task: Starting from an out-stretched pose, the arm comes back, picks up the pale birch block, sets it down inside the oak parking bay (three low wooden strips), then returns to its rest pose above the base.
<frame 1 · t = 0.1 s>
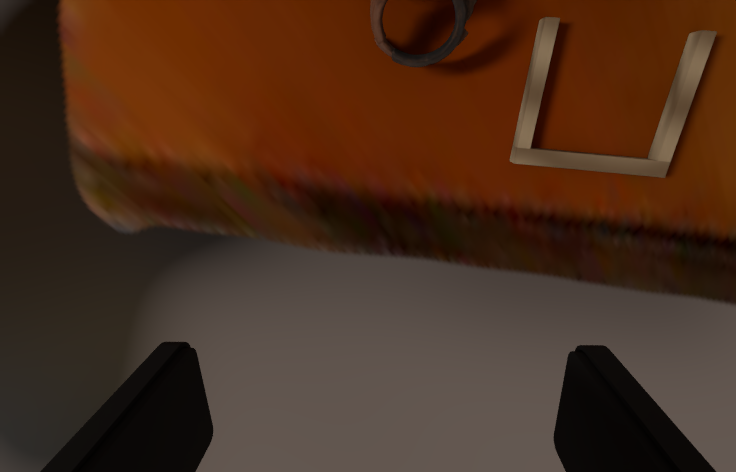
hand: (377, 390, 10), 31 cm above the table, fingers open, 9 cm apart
oak bay: (600, 99, 36), on the table
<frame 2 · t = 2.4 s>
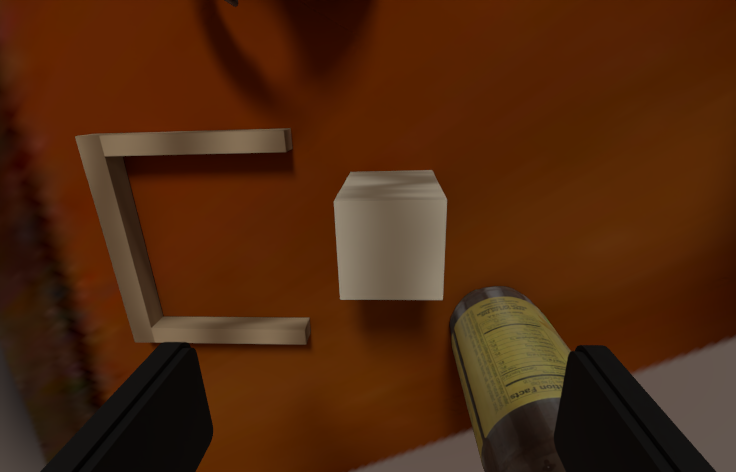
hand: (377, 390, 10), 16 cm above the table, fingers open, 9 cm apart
sauce bottle: (492, 317, 26), on the table
birch block: (391, 210, 24), on the table
oak bay: (214, 240, 26), on the table
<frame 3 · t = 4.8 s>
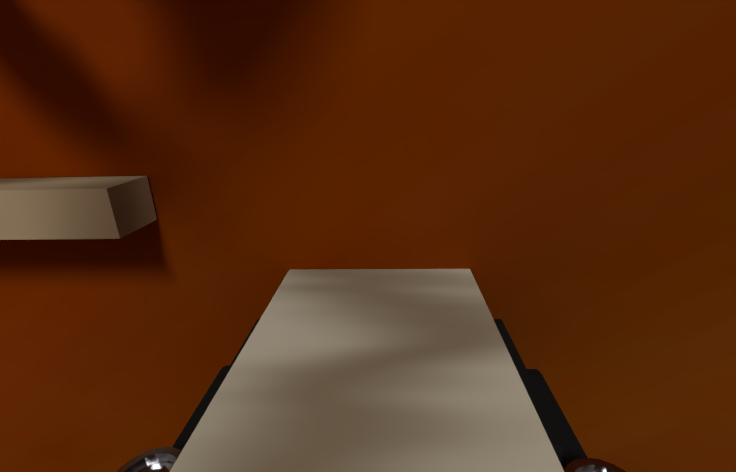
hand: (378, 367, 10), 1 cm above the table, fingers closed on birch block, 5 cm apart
birch block: (379, 345, 11), on the table, touching gripper
oak bay: (24, 391, 13), on the table
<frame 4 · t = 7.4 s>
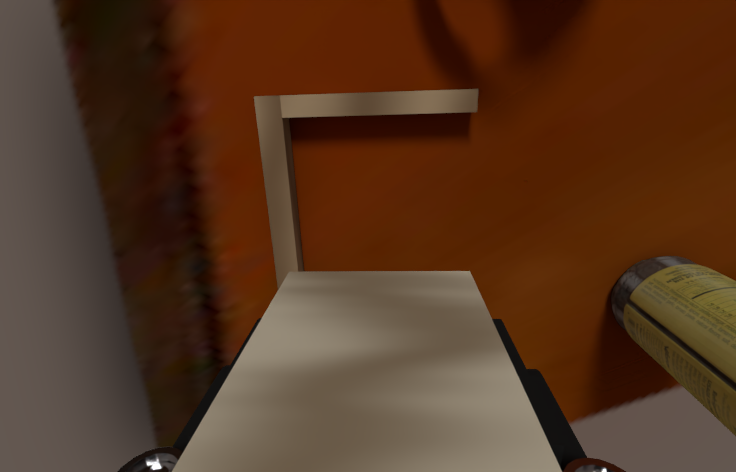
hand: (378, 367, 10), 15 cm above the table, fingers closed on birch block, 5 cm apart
sauce bottle: (653, 290, 26), on the table
birch block: (379, 347, 11), point 14 cm above the table, touching gripper
oak bay: (373, 210, 25), on the table
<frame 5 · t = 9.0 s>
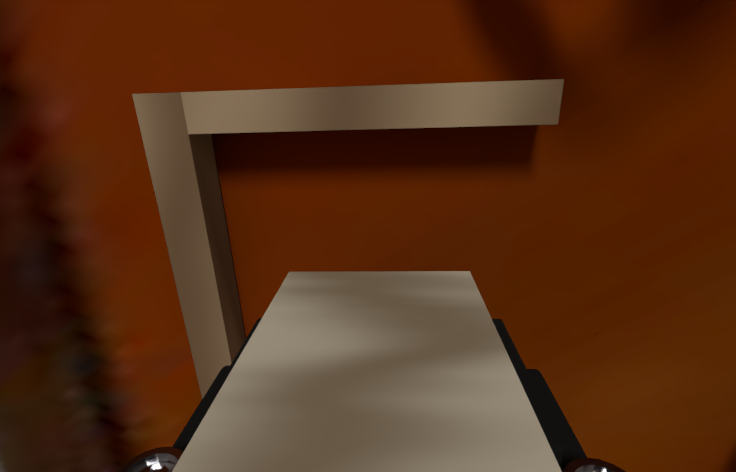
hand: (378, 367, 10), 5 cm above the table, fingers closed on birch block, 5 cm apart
birch block: (379, 347, 11), point 4 cm above the table, touching gripper
oak bay: (361, 286, 15), on the table
when the fingers open (2 cm above the table, at t = 10.4 s): birch block drops 1 cm, on the table.
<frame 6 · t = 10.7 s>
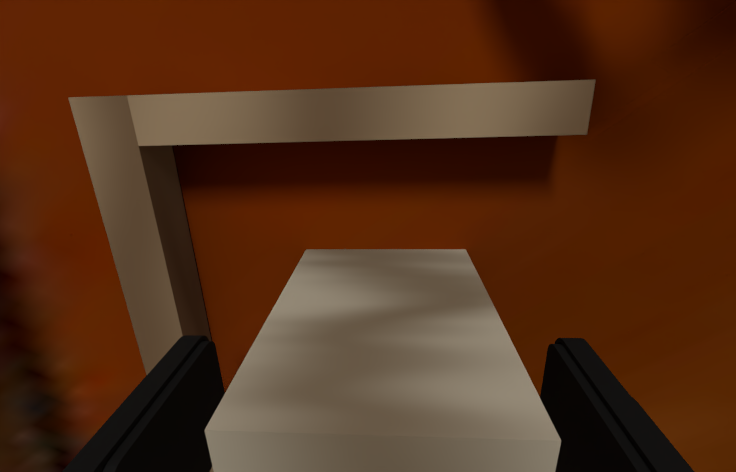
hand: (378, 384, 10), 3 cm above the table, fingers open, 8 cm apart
birch block: (385, 318, 13), on the table
oak bay: (351, 319, 13), on the table
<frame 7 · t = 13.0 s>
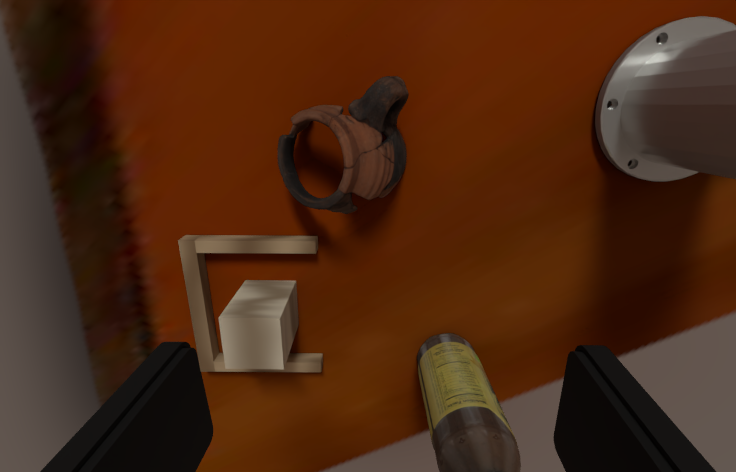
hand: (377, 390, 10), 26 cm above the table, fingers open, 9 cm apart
sauce bottle: (445, 353, 40), on the table
birch block: (272, 302, 38), on the table
oak bay: (261, 303, 38), on the table
broken clay pot rim: (356, 142, 33), on the table
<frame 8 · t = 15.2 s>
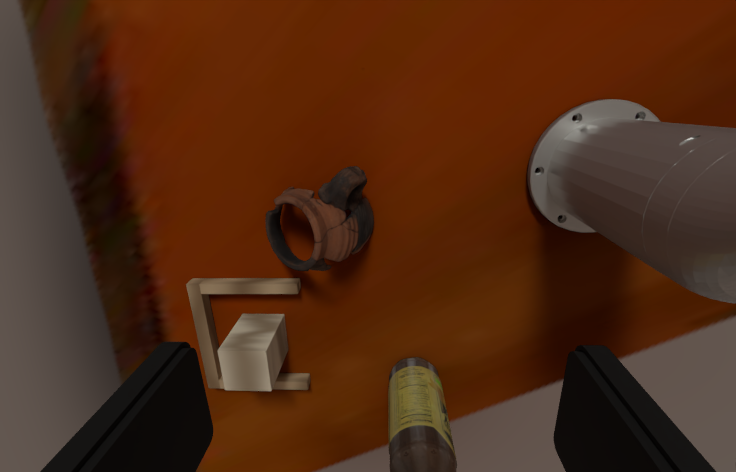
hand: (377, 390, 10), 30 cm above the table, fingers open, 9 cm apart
sauce bottle: (414, 373, 46), on the table
birch block: (265, 331, 45), on the table
oak bay: (256, 332, 45), on the table
broken clay pot rim: (332, 208, 40), on the table
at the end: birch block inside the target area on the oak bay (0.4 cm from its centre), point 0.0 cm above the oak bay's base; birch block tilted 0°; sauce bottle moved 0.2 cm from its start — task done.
